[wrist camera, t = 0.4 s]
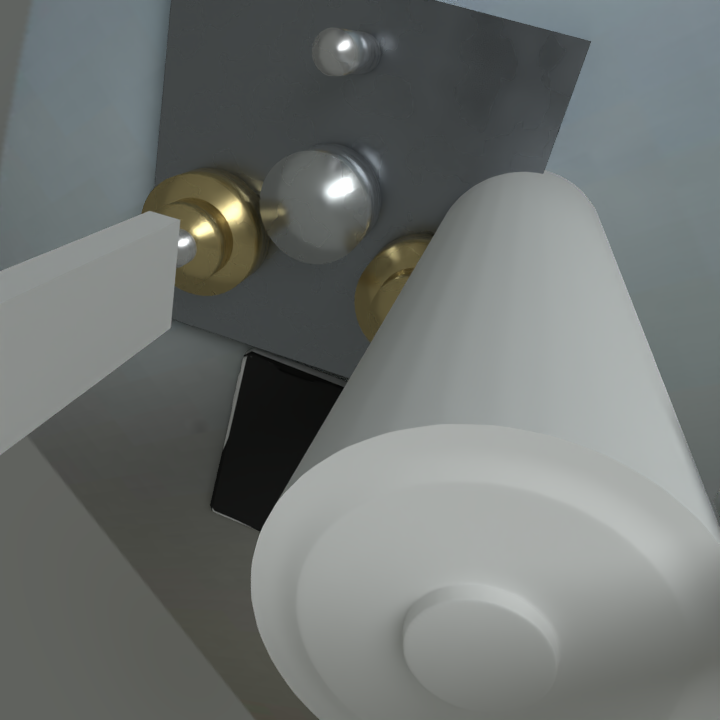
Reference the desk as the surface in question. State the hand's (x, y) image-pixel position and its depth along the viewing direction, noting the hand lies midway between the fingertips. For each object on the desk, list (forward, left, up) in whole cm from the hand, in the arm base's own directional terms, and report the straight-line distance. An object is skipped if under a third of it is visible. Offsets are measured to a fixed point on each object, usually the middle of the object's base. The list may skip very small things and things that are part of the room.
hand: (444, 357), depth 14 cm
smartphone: (+23, -9, -26) cm, 36 cm away
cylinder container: (+4, +2, -26) cm, 26 cm away
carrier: (+4, -9, -25) cm, 27 cm away
